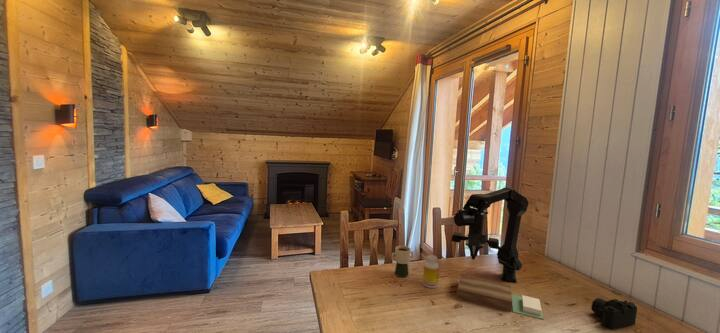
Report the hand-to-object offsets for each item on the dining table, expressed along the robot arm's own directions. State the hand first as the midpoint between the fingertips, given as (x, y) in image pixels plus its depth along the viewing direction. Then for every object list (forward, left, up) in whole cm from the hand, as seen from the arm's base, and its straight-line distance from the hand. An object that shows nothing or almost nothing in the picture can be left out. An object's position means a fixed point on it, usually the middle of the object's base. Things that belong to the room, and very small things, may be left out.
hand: (473, 259), depth 130 cm
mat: (+5, +21, -13) cm, 25 cm away
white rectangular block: (+5, +23, -11) cm, 25 cm away
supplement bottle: (+6, -17, -13) cm, 22 cm away
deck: (+5, +5, -13) cm, 15 cm away
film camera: (0, +49, -14) cm, 51 cm away
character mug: (+3, -31, -13) cm, 34 cm away
